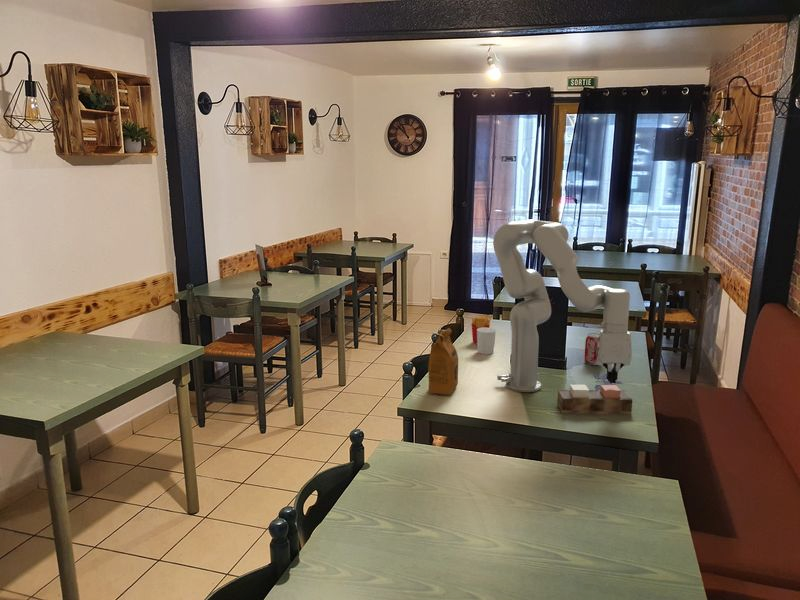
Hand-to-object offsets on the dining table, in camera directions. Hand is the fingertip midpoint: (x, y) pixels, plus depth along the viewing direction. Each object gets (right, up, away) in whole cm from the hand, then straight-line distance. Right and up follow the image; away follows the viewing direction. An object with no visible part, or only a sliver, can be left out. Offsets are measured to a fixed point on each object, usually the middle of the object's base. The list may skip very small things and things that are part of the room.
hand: (611, 381), depth 197 cm
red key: (0, -6, +2) cm, 6 cm away
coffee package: (-53, -6, +20) cm, 57 cm away
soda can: (+9, +1, +48) cm, 49 cm away
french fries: (-32, +7, +77) cm, 84 cm away
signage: (+7, -5, +22) cm, 23 cm away
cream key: (-10, -6, +2) cm, 12 cm away
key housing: (-5, -9, +2) cm, 11 cm away
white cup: (-32, +4, +63) cm, 71 cm away
